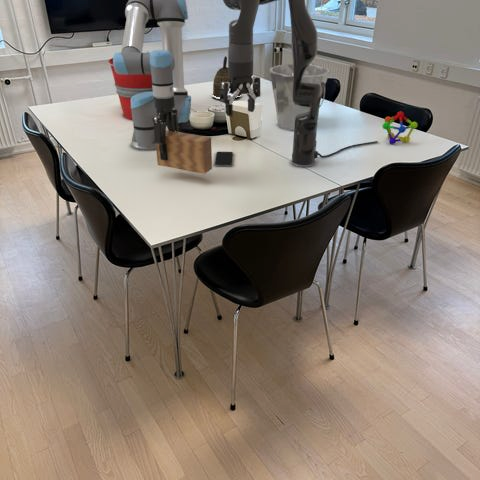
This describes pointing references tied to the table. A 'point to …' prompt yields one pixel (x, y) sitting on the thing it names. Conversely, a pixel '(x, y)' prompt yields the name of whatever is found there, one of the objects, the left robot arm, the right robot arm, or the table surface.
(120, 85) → the bucket
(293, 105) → the bucket
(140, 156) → the table surface
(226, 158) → the smartphone
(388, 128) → the educational toy
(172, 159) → the box
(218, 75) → the bell
